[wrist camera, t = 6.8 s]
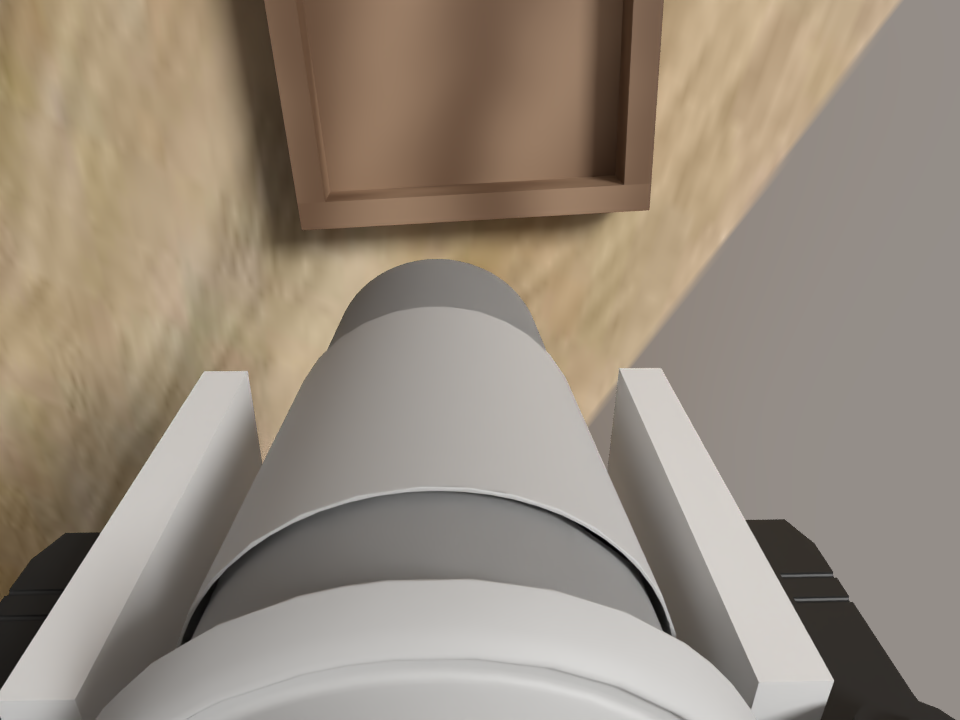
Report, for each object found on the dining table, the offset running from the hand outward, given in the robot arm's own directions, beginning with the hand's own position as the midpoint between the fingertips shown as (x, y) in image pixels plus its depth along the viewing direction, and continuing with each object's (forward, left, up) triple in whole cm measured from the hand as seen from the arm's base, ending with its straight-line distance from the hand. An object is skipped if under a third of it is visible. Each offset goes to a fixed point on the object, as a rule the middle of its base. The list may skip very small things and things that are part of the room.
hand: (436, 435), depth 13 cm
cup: (0, 0, -4) cm, 4 cm away
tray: (+2, +6, -17) cm, 19 cm away
